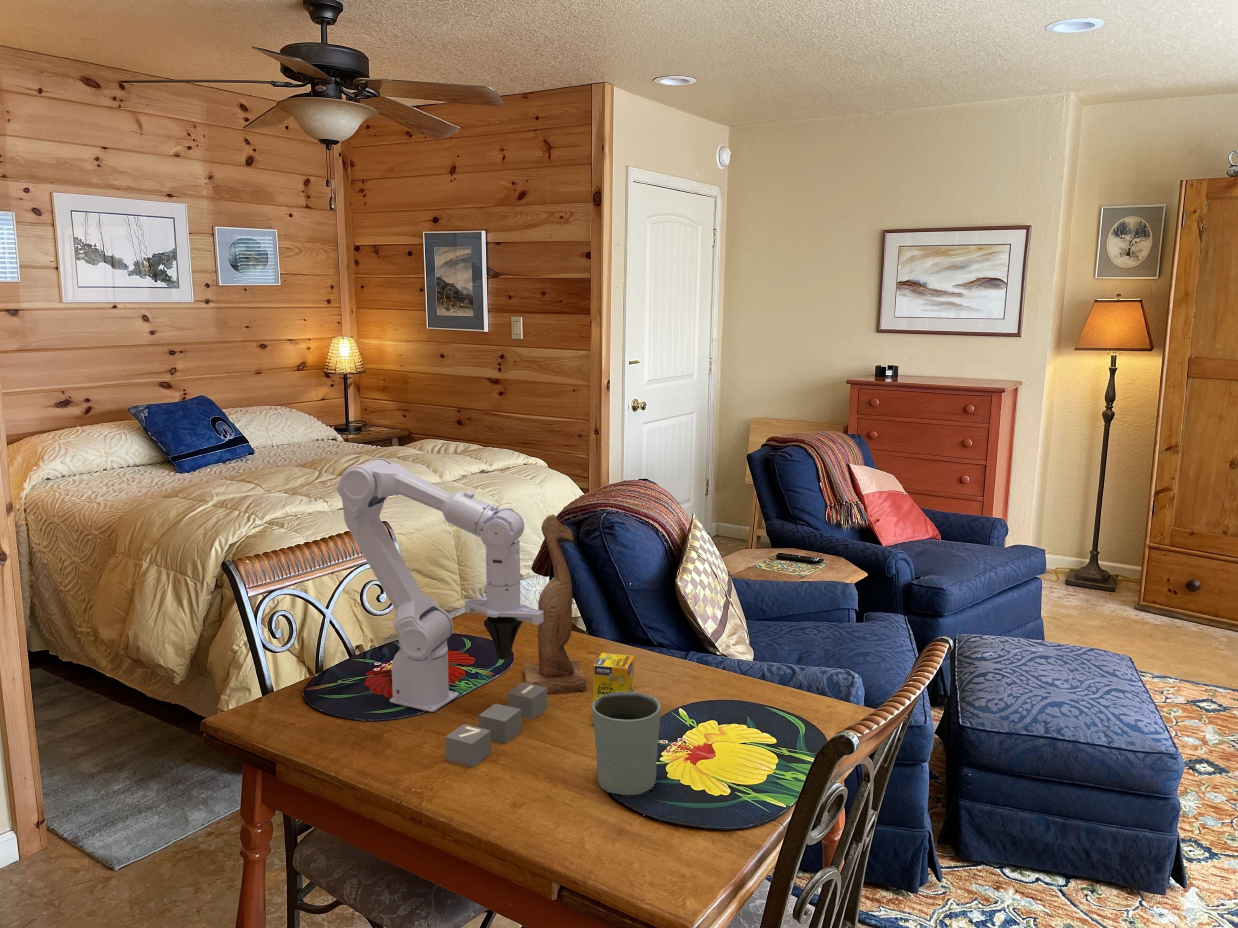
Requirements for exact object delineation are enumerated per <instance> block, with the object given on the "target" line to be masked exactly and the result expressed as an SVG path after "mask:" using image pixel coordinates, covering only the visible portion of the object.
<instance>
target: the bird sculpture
mask: <svg viewBox="0 0 1238 928" xmlns="http://www.w3.org/2000/svg"><path fill="white" fill-rule="evenodd" d="M540 529H541V532H542V535H543V537H544V540H545V543H546V546H547V549H548V551H549V552H548V553H549V555H550V560H551V563H552V567H553V576H554V577H552V578H551V580H549V581H548V582H547V583H546V585H544V588H543V589H542V590H541V593H540V596H539V597H538V609H537V610H541V611H543V622H542V623H541V624H539V625H537V645H538V646H537V650H538V651H537V652H538V654H537V655H538V662H532V663H531V662H530V663H523V664H522V668H523V673H524V675H525V678H524V679H525V683H528V684H533V685H537V686H542V687H547V694H548V695H550V694H554V693H555V694H560V693H561V694H563V693H564V694H567V693H576V692H586V689H587V680H586V679H587V678H586V676H585V673H584V669H583V668H582V667H581V666H582V663H581V660H580V659H577V660H576V659H575V660H571V659H570V658H569V656H568V653H567V651H566V649H565V645H566V644H567V643H568V642H569V640H570V638H571V635H572V629H573V588H572V585H573V584H572V578H571V574H570V570H569V567H568V565H567V561H566V560H565V557H564V554H563V551H562V548H561V545H560V544H561V542H562V543H563V542H568V543H572V544H573V543H574V536H573V532H572V530H571V528H570V527H568V526H566V525H564V524H562V522H561V521H559V520H558V518H557V516H556V515H555V514H549V515H548V516H546V517H545V519H544V520H543V521H542V524H541V528H540Z"/></svg>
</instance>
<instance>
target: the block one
mask: <svg viewBox="0 0 1238 928" xmlns="http://www.w3.org/2000/svg"><path fill="white" fill-rule="evenodd" d="M506 693H507V694H506V698H507V701H506V702H507V705H506V706H509V707H514V708H518V709H521V719H527V720H531V721H533V720H535V719H536V718H537V717H538V716H540V715H541V714H543V713H544V712H545V711H547V709H548V693H547V687H542V686H537V685H533V684H528V683H526V682H521V683H519V684H518V685H517V686H515V687H514V688H512V689H511V690H510V691H508V692H506Z"/></svg>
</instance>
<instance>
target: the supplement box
mask: <svg viewBox="0 0 1238 928" xmlns="http://www.w3.org/2000/svg"><path fill="white" fill-rule="evenodd" d="M592 670H593V675H592V676H593V679H592V680H593V682H592V683H593V685H592V687H593V688H592V689H593V691H592V693H593V695H592V703H593V702H594V701H595V700H596V699H597V698H599V697H601V696H603V695H606V694H609V693H615V692H634V681H635V680H634V678H635V673H634V672H635V656H634V655H629V654H615V653H609V652H608V653H607V652H601V653H600V655H599V657H598V659H597V660H596V661H595V663H594V664H593V669H592ZM592 727H593V728H594V722H593V721H592Z"/></svg>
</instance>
